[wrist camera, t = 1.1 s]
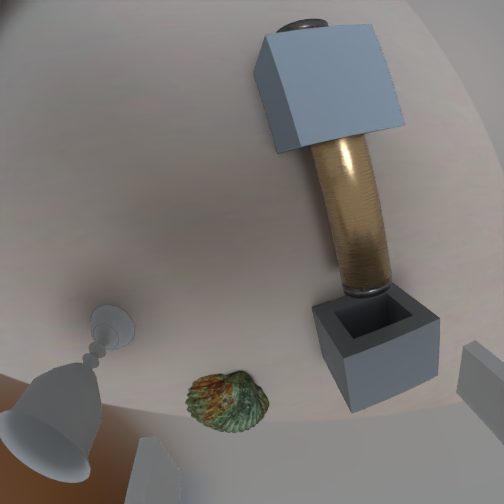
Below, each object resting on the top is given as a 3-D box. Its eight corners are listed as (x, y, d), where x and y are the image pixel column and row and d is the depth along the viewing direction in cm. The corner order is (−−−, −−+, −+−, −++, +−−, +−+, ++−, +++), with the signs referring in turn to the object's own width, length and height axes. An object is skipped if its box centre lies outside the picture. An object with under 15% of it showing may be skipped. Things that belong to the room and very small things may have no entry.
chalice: (124, 286, 30) (40, 404, 12) (156, 342, 31) (112, 481, 14) (71, 309, 30) (-21, 415, 12) (102, 361, 32) (41, 482, 14)
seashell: (172, 437, 30) (209, 378, 29) (173, 413, 34) (207, 355, 33) (250, 456, 33) (294, 404, 31) (245, 433, 37) (285, 381, 35)
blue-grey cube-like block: (253, 73, 26) (265, 34, 17) (333, 58, 26) (371, 24, 17) (277, 153, 28) (301, 146, 19) (356, 135, 28) (405, 125, 19)
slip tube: (271, 43, 23) (280, 22, 18) (319, 36, 23) (334, 16, 18) (336, 285, 28) (354, 304, 24) (378, 270, 28) (401, 286, 24)
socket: (311, 307, 32) (343, 358, 23) (389, 280, 32) (439, 318, 23) (322, 357, 34) (351, 413, 24) (394, 330, 34) (437, 375, 24)
